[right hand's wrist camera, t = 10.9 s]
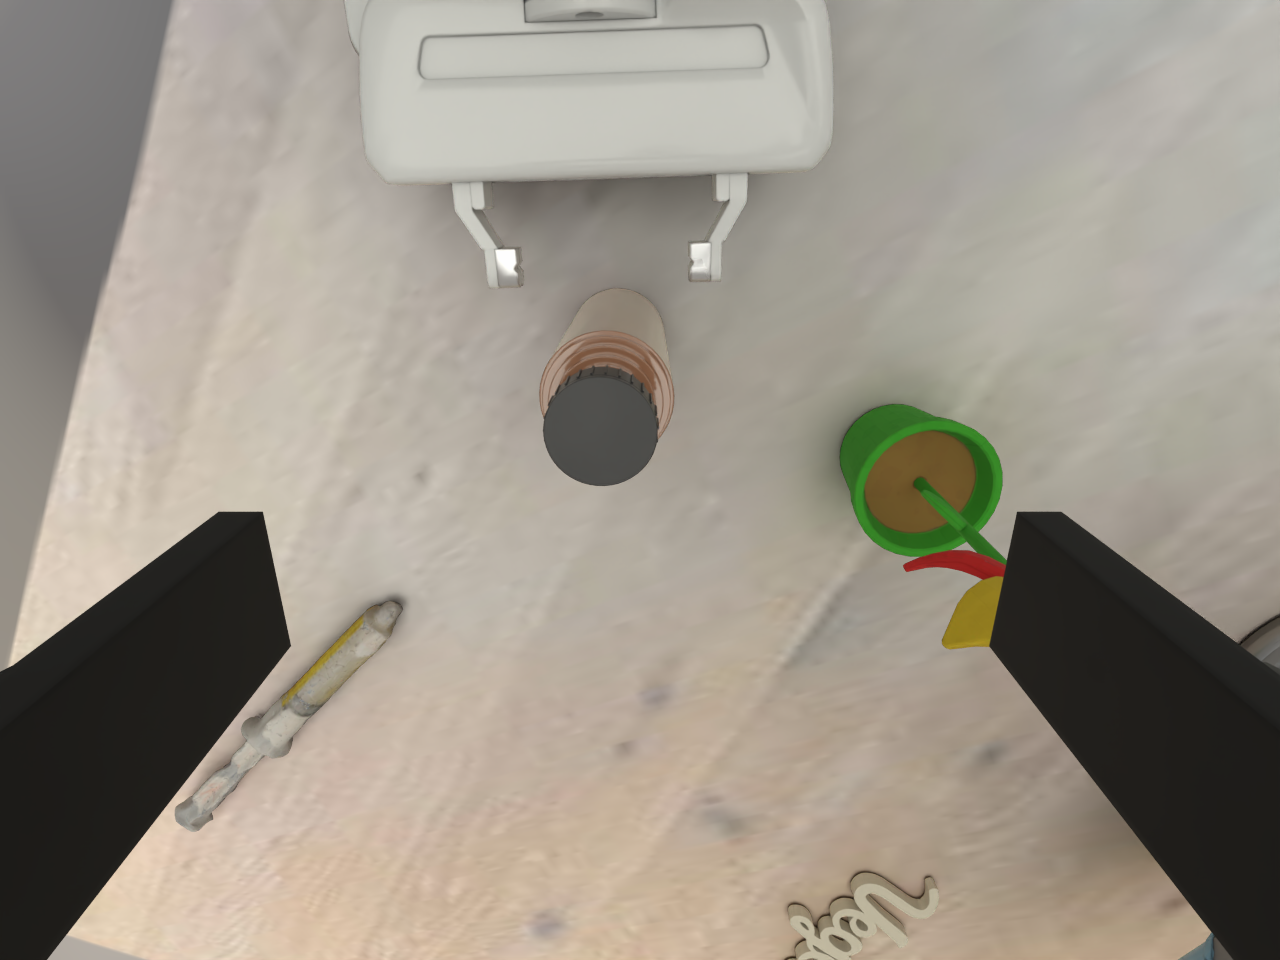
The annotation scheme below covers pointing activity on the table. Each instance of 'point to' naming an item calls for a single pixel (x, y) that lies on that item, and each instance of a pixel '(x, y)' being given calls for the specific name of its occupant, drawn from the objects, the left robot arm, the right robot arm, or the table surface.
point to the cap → (601, 426)
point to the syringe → (292, 711)
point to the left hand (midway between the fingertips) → (605, 284)
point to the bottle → (615, 347)
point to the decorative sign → (835, 953)
